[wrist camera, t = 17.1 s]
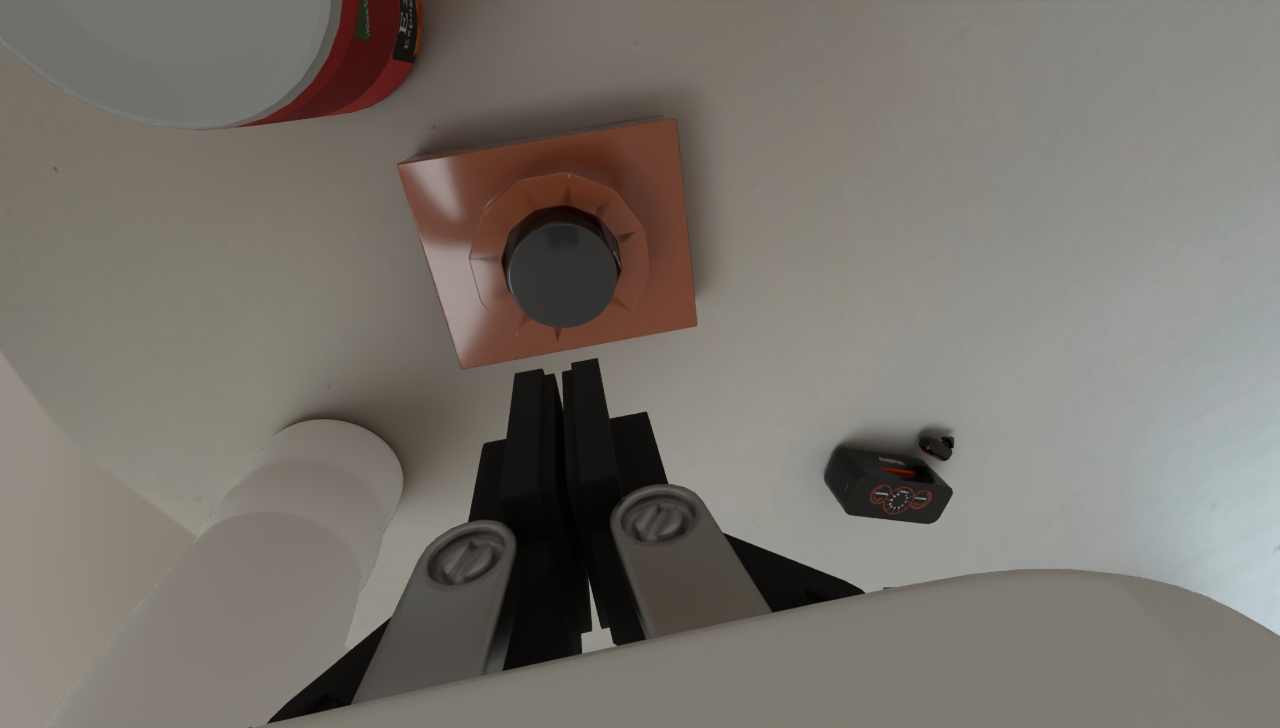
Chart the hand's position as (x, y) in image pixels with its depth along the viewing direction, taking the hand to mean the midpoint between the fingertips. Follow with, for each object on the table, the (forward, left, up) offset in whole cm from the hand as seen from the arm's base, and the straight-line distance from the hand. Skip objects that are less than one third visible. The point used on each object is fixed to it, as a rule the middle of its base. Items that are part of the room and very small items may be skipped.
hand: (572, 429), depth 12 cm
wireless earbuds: (+17, -17, -17) cm, 30 cm away
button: (0, 0, -12) cm, 12 cm away
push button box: (0, 0, -17) cm, 17 cm away
